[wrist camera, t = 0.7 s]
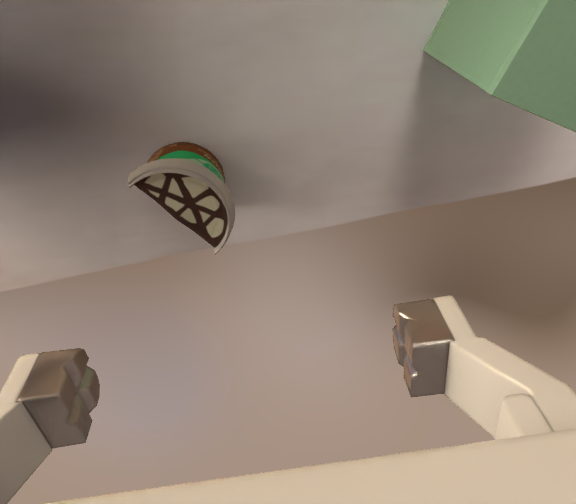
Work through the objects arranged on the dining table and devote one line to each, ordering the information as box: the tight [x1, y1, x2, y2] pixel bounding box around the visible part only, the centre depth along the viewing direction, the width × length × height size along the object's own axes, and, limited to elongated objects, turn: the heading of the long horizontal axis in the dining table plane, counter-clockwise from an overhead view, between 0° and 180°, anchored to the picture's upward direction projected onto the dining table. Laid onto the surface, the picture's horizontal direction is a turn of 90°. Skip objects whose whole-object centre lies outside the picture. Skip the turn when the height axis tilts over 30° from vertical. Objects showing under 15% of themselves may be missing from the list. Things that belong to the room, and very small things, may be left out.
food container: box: [128, 142, 235, 254], centre depth 53 cm, size 12×6×10 cm, turn 43°
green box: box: [424, 0, 576, 132], centre depth 43 cm, size 15×13×17 cm
